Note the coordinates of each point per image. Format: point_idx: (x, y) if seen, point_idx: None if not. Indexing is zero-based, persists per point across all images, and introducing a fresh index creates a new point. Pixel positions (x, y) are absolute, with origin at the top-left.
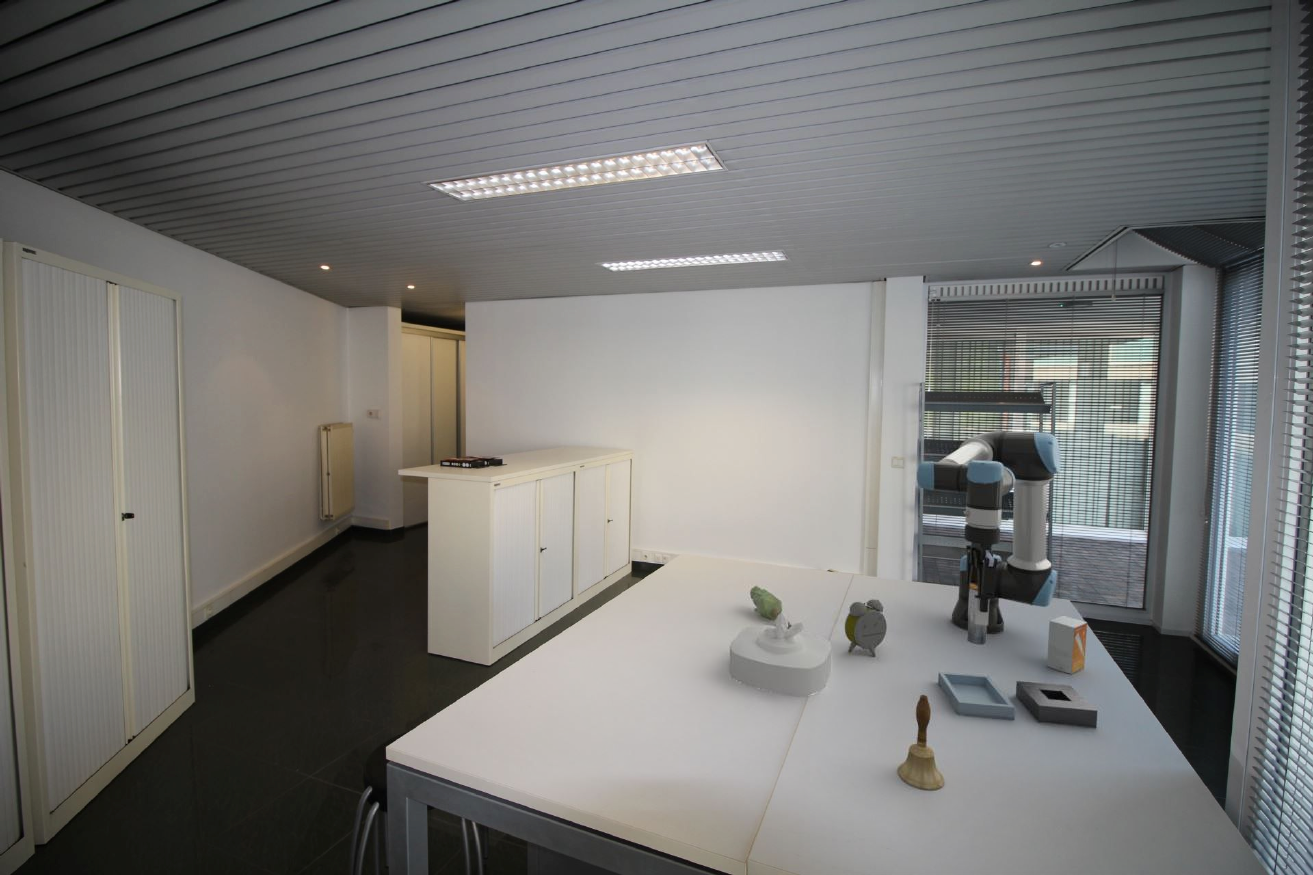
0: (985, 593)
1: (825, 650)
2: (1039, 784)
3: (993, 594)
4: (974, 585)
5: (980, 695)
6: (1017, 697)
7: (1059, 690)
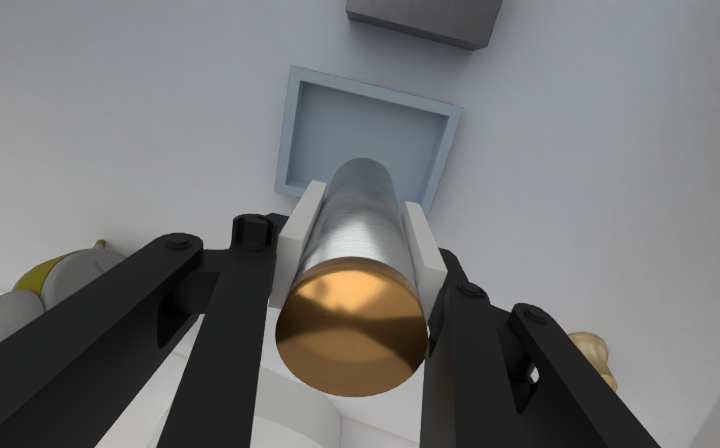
0: (537, 385)
1: (256, 423)
2: (651, 205)
3: (563, 336)
4: (371, 385)
5: (352, 123)
6: (358, 20)
7: None
